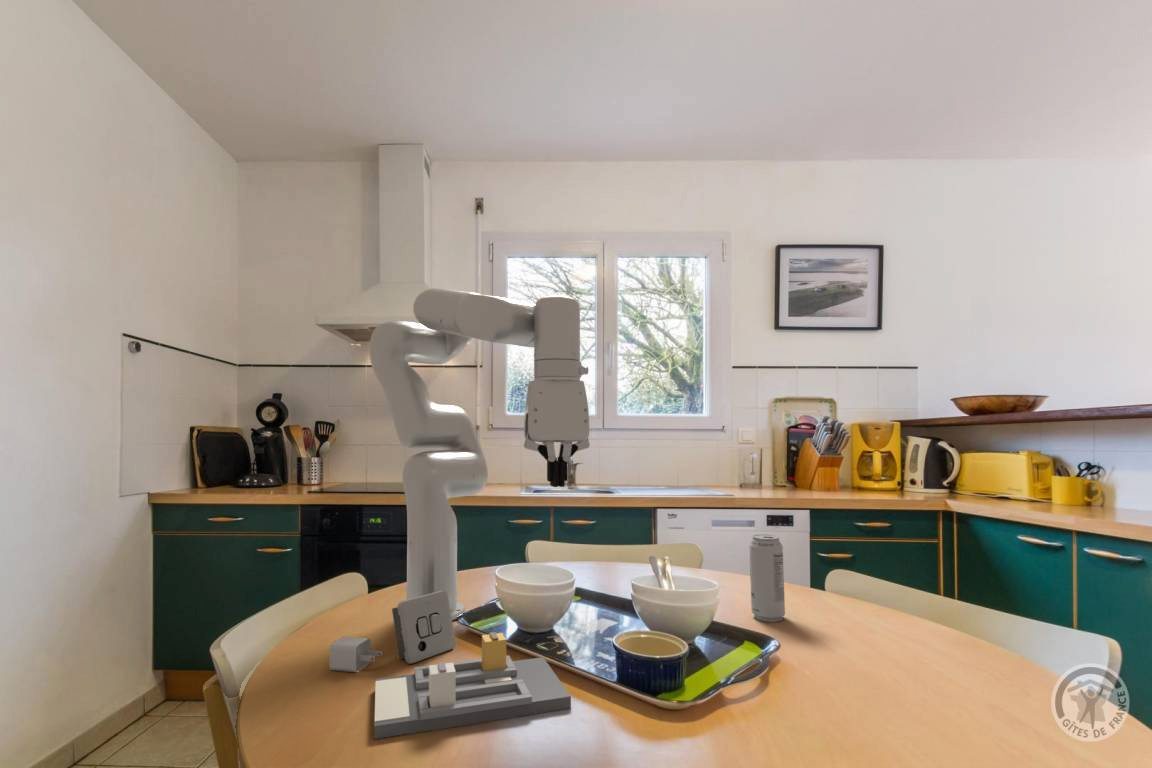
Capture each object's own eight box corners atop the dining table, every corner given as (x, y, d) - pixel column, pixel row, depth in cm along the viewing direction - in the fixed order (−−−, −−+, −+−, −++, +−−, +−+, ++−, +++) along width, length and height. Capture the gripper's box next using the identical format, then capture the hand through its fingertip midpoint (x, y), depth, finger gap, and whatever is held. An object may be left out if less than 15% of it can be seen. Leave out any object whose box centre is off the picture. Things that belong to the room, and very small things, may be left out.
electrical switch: (409, 666, 92) (406, 603, 93) (389, 662, 95) (387, 601, 96) (457, 648, 99) (454, 590, 100) (437, 645, 102) (434, 588, 104)
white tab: (428, 702, 76) (428, 663, 76) (452, 698, 77) (452, 660, 77) (430, 712, 73) (430, 672, 74) (455, 709, 74) (455, 668, 74)
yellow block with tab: (481, 667, 87) (481, 633, 87) (502, 664, 88) (502, 630, 88) (485, 675, 84) (485, 639, 85) (506, 672, 85) (506, 637, 85)
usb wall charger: (345, 661, 94) (345, 635, 94) (385, 664, 93) (385, 638, 93) (329, 671, 90) (329, 644, 90) (371, 675, 89) (371, 647, 89)
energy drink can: (757, 610, 117) (755, 532, 119) (789, 616, 114) (786, 535, 115) (747, 619, 113) (744, 537, 114) (779, 624, 109) (776, 540, 110)
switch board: (375, 689, 84) (375, 672, 84) (542, 666, 91) (542, 651, 91) (374, 740, 70) (374, 720, 70) (571, 709, 77) (571, 690, 77)
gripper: (593, 375, 104) (593, 482, 103) (507, 373, 100) (507, 485, 99) (607, 371, 97) (608, 486, 96) (516, 369, 93) (516, 490, 91)
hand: (557, 485), depth 97 cm, fingers closed
